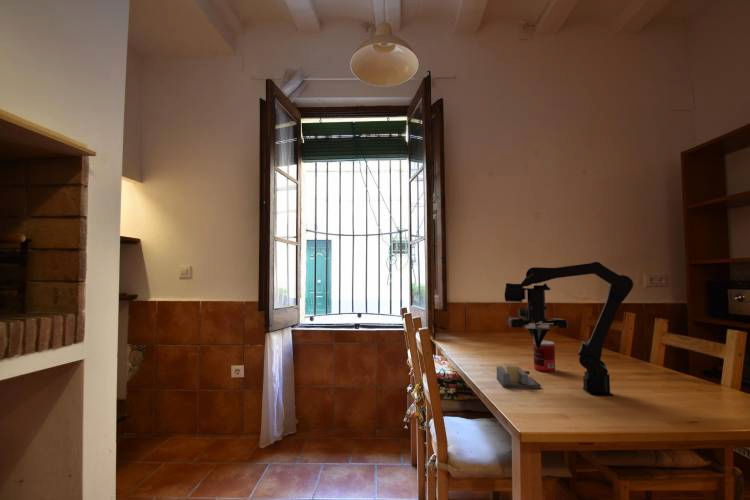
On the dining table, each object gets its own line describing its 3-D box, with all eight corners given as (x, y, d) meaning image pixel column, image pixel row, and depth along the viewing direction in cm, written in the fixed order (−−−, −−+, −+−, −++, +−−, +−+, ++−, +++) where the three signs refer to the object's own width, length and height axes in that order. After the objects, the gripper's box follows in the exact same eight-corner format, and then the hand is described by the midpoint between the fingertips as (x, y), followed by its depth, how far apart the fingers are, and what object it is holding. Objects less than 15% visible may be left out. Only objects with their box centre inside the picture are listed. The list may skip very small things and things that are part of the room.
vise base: (530, 380, 131) (530, 367, 131) (540, 388, 121) (540, 374, 121) (496, 379, 132) (496, 366, 132) (503, 387, 122) (503, 373, 122)
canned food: (556, 369, 146) (555, 341, 147) (554, 373, 139) (553, 344, 140) (535, 366, 150) (535, 339, 151) (532, 370, 143) (531, 342, 144)
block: (516, 378, 128) (515, 364, 129) (519, 381, 125) (518, 367, 125) (504, 378, 129) (504, 363, 129) (507, 381, 125) (507, 366, 125)
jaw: (527, 375, 131) (527, 367, 131) (537, 384, 121) (537, 375, 121) (513, 375, 132) (513, 366, 132) (521, 383, 122) (521, 374, 122)
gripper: (554, 301, 135) (556, 343, 134) (503, 300, 137) (504, 342, 136) (567, 303, 124) (569, 350, 123) (511, 303, 125) (512, 349, 124)
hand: (537, 347), depth 127 cm, fingers closed
